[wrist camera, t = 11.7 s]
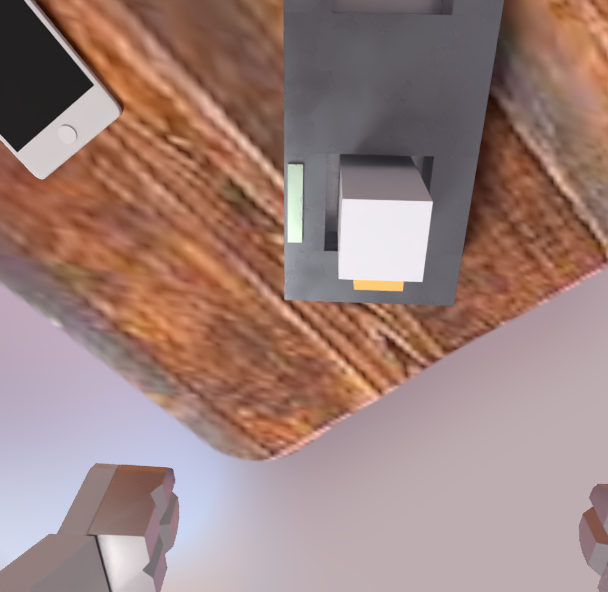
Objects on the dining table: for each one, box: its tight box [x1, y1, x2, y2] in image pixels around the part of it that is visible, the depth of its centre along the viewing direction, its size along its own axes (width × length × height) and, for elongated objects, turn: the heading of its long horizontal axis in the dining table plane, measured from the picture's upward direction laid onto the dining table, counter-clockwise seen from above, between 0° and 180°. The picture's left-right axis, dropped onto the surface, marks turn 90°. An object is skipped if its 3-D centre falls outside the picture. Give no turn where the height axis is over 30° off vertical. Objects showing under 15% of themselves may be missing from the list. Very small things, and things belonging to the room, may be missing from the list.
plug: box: [337, 154, 433, 291], centre depth 29 cm, size 5×4×8 cm
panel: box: [284, 0, 504, 306], centre depth 29 cm, size 24×10×4 cm, turn 179°
